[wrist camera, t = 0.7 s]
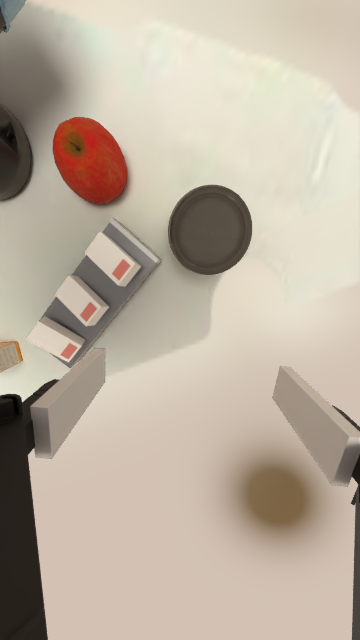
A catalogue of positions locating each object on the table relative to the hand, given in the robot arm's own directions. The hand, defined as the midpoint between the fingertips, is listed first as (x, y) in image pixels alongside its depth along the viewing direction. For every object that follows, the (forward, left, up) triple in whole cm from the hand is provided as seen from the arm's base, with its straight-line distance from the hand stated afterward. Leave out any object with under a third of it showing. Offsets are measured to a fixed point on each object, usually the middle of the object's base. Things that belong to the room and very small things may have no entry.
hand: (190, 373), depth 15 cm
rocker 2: (-15, -19, -22) cm, 33 cm away
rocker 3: (-15, -1, -22) cm, 27 cm away
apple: (-27, +8, -27) cm, 39 cm away
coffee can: (-6, +11, -27) cm, 30 cm away
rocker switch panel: (-15, -10, -27) cm, 33 cm away
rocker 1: (-15, -10, -22) cm, 28 cm away
